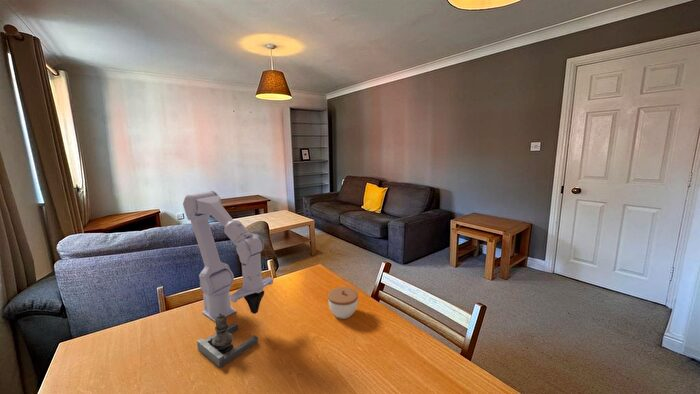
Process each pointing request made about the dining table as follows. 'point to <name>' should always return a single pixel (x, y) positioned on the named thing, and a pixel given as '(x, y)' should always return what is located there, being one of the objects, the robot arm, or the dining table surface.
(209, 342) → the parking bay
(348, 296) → the lidded jar
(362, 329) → the dining table surface
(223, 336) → the weathered grey candle holder
